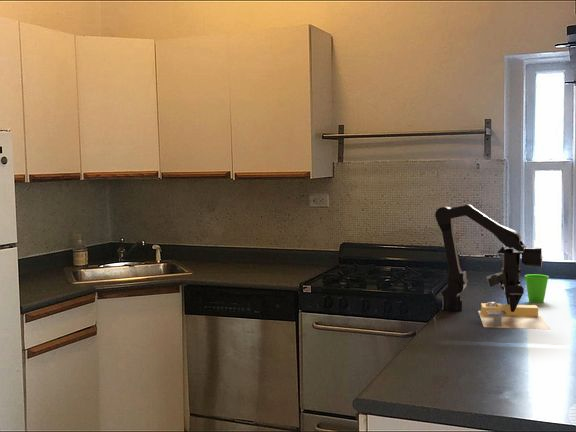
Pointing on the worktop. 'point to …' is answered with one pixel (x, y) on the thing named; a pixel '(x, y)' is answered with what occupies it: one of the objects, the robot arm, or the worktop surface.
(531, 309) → the link
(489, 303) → the pintle
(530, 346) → the worktop surface
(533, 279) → the cup
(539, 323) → the board
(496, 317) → the keeper
